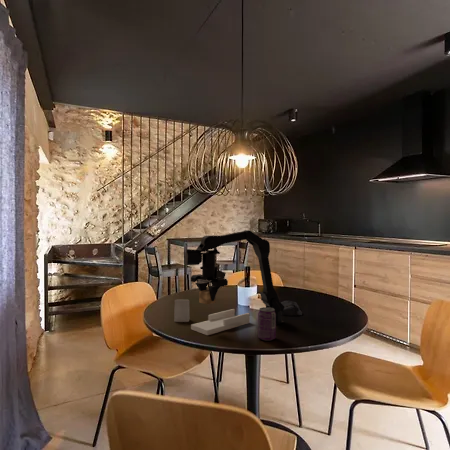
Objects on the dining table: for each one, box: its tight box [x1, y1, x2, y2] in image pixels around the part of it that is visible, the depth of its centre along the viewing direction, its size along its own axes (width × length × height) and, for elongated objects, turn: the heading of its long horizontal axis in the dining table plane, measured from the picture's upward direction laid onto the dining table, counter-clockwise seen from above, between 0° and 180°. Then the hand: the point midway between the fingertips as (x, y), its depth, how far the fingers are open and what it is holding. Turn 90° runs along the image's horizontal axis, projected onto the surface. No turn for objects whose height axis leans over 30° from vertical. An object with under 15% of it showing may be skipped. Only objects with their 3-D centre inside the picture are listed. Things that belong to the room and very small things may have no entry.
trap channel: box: [190, 308, 251, 336], centre depth 155 cm, size 11×26×4 cm, turn 133°
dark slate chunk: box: [279, 300, 303, 317], centre depth 183 cm, size 15×22×5 cm
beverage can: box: [257, 306, 277, 342], centre depth 138 cm, size 7×7×12 cm
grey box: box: [173, 299, 190, 323], centre depth 163 cm, size 4×7×10 cm, turn 90°
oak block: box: [198, 289, 216, 305], centre depth 149 cm, size 5×5×5 cm
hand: (208, 300), depth 150 cm, fingers closed on oak block, 5 cm apart
